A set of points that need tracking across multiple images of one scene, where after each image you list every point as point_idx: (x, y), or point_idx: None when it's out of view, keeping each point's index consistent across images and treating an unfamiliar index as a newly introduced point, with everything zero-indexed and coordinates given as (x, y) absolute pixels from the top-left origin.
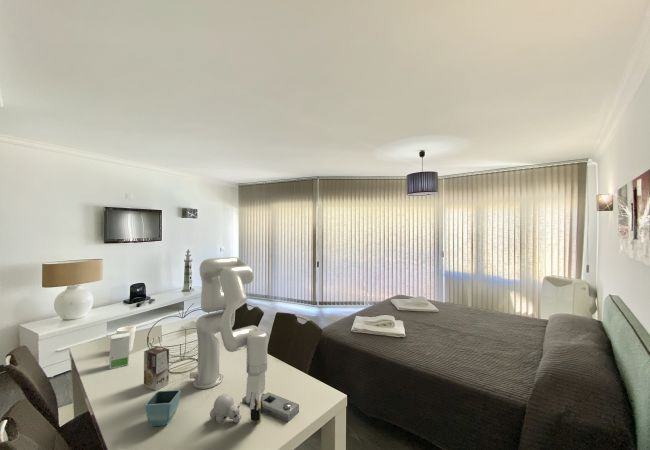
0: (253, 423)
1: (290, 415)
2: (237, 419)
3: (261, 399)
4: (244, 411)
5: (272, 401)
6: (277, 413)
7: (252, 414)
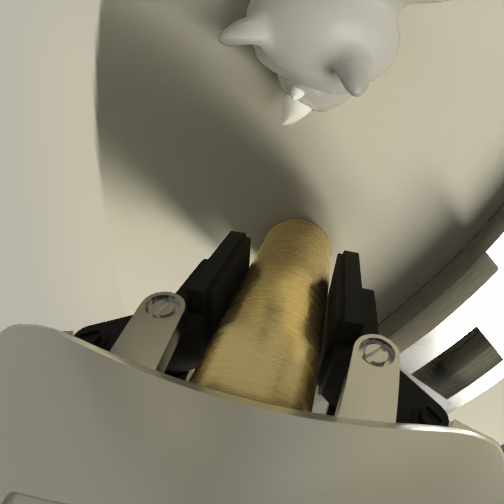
0: (269, 232)
1: None
2: (282, 85)
3: (324, 414)
4: (457, 135)
5: (471, 352)
6: (317, 386)
7: (185, 282)
